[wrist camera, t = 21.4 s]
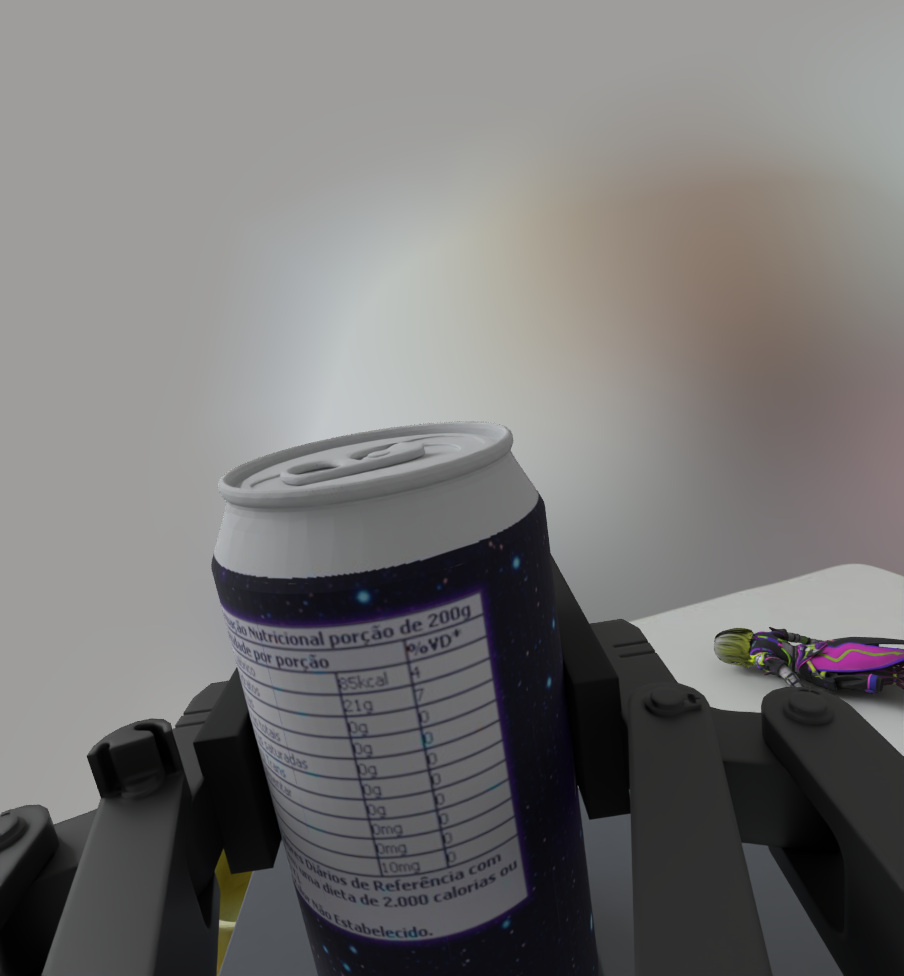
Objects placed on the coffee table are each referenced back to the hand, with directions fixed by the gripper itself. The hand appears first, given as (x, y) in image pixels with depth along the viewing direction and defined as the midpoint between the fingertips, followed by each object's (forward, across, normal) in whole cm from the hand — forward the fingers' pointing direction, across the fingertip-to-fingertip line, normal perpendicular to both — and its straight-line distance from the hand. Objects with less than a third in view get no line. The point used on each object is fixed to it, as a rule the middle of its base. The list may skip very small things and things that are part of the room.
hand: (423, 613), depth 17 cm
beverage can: (-5, 0, -7) cm, 8 cm away
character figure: (+24, +27, -22) cm, 42 cm away
